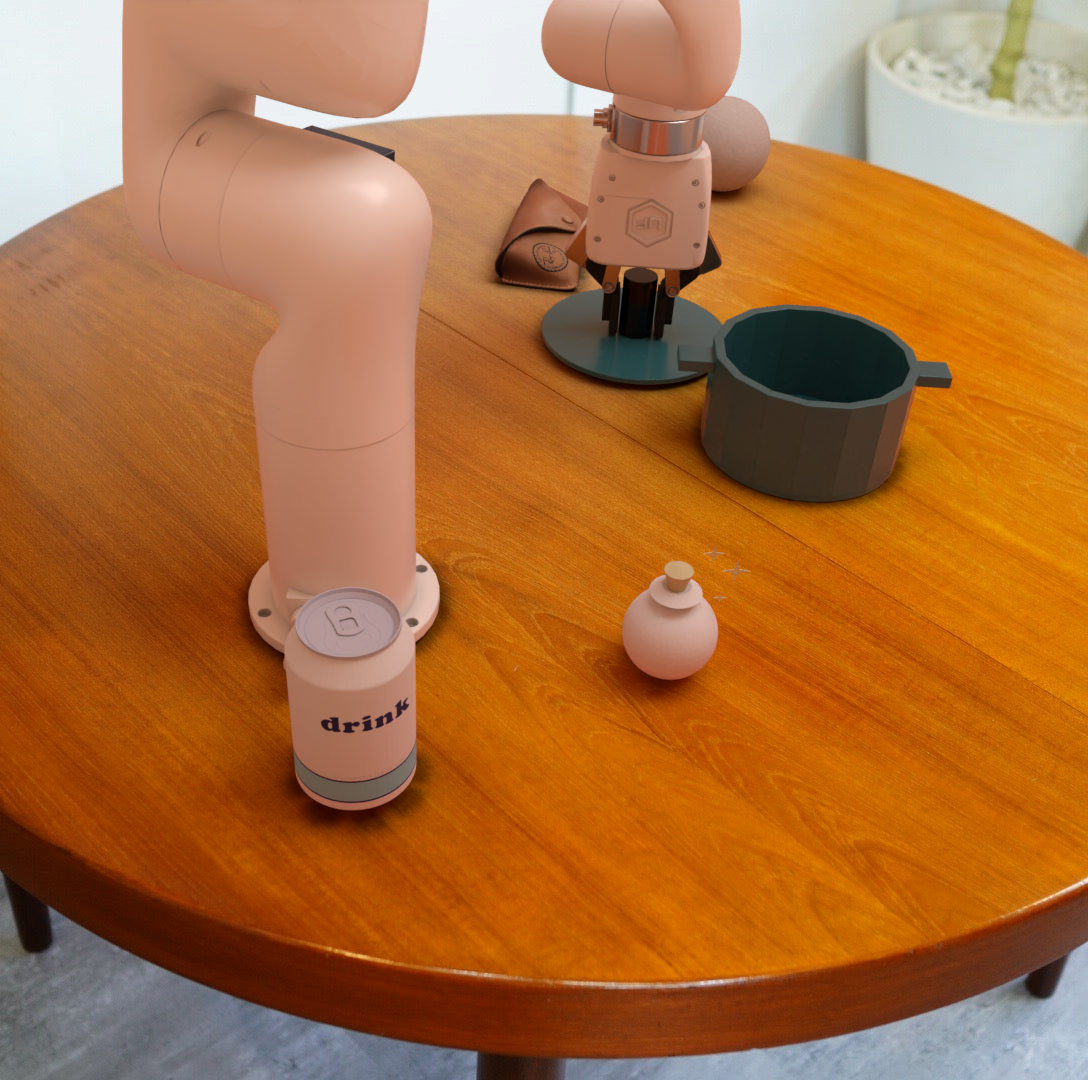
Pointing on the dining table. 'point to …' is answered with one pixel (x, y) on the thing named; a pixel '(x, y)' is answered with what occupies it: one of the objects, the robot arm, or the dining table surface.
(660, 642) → the potion bottle
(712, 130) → the ball
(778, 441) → the pot
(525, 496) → the dining table surface
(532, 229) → the sunglasses case
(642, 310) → the lid
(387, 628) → the beverage can
